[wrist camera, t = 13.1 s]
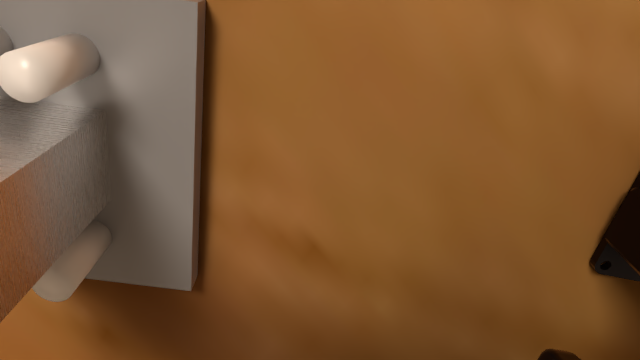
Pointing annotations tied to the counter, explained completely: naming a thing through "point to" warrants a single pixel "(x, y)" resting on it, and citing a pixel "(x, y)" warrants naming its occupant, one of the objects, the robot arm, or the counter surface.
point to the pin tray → (121, 126)
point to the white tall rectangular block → (46, 187)
